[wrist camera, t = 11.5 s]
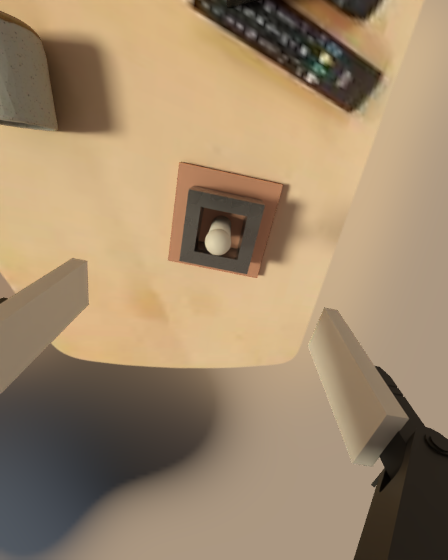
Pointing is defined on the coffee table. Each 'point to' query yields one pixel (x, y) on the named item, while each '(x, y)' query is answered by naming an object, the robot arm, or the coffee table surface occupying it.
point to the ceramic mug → (24, 78)
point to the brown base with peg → (223, 213)
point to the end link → (224, 202)
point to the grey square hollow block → (238, 2)
